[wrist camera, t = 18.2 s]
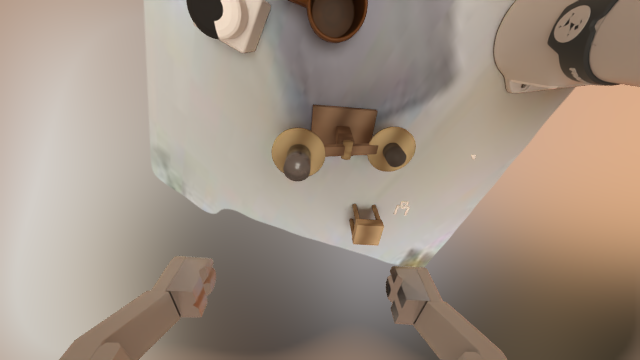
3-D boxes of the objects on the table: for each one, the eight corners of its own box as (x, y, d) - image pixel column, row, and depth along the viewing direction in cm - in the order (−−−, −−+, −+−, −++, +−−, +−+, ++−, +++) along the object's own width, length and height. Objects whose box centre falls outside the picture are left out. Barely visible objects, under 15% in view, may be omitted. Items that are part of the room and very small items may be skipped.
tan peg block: (376, 204, 56) (383, 226, 49) (371, 222, 59) (378, 245, 52) (352, 203, 55) (357, 225, 49) (349, 221, 58) (353, 244, 52)
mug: (276, 23, 36) (264, 19, 28) (286, -39, 32) (276, -65, 24) (347, 48, 38) (355, 51, 30) (364, -8, 34) (379, -22, 26)
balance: (405, 112, 44) (434, 136, 33) (393, 154, 48) (415, 187, 38) (282, 101, 42) (270, 123, 32) (282, 146, 47) (272, 178, 36)
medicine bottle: (212, 26, 36) (171, 22, 26) (226, -25, 33) (186, -54, 23) (255, 52, 38) (232, 56, 28) (272, 5, 35) (253, -8, 25)
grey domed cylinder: (311, 144, 33) (311, 158, 30) (310, 166, 35) (309, 182, 32) (287, 143, 33) (283, 156, 29) (286, 164, 35) (283, 180, 31)
